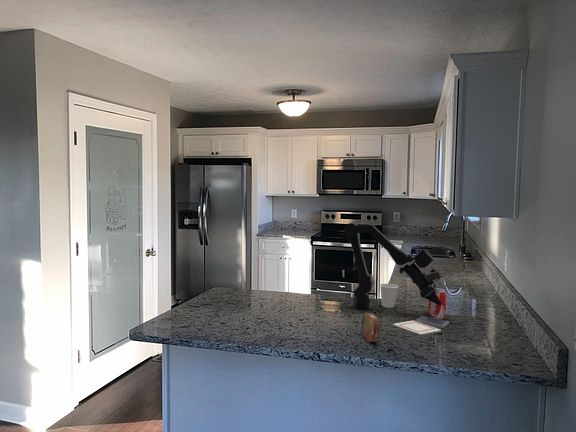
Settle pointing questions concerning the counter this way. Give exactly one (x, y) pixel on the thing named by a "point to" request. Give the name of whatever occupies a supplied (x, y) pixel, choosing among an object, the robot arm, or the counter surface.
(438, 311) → the soda can
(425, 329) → the print card
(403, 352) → the counter surface
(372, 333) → the brown oval slab
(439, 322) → the ink pad
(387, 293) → the dixie cup
